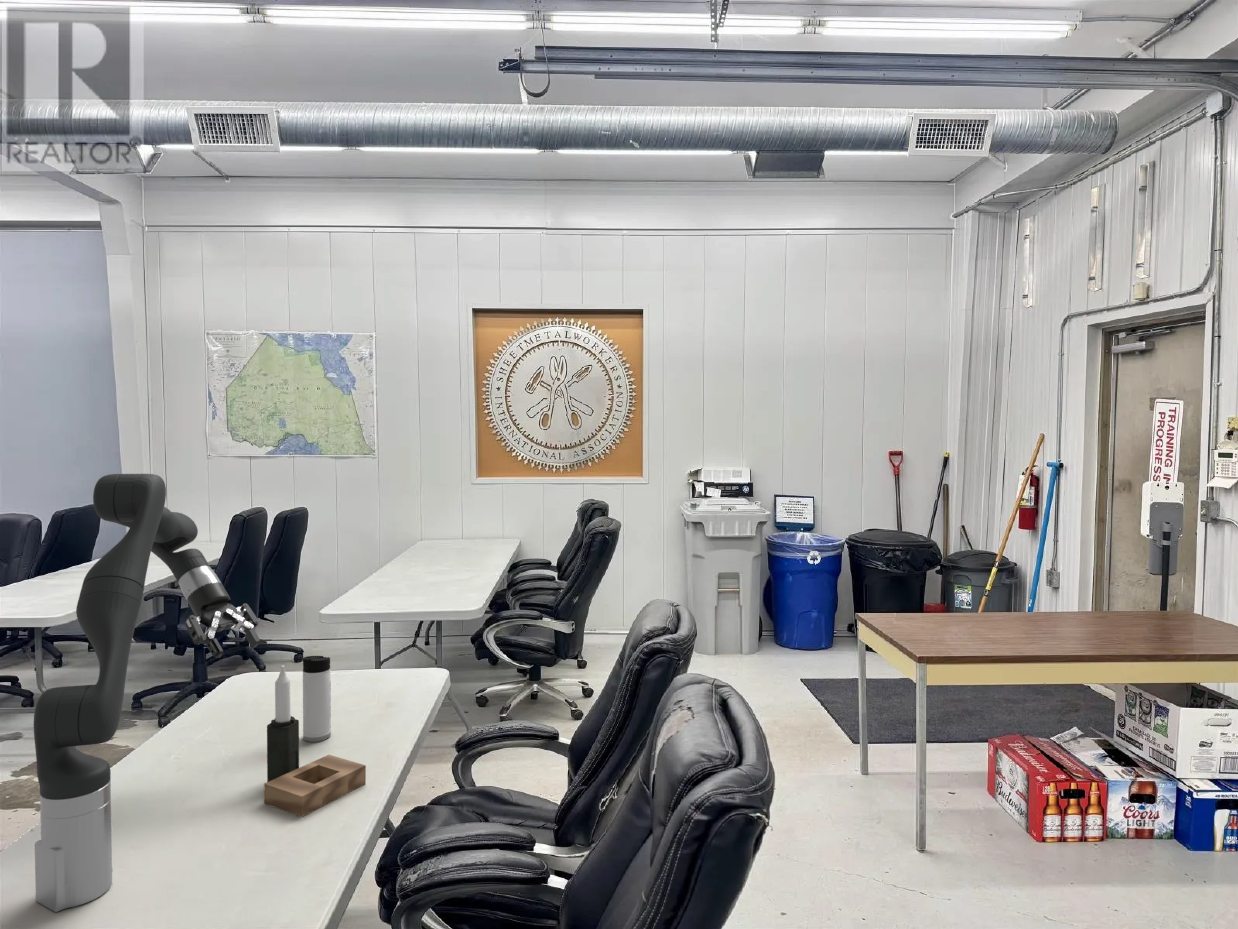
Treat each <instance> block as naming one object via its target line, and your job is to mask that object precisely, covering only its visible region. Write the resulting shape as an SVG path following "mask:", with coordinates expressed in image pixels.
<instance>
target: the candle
mask: <svg viewBox="0 0 1238 929" xmlns="http://www.w3.org/2000/svg"><path fill="white" fill-rule="evenodd" d="M285 668H286V666H285V665H284V664H283V665H281V666H280V671H279V674H278V677H277V679H276V680H275V682H274V690H275V691H274V697H275V699H274V701H275V703H274V704H275V705H274V706H275V708H274V711H275V713H274V716H275V718H274V719H271V720H270V723H268V724H267V725H266V758H267V759H266V762H267V763H266V764H267V765H266V766H267V767H266V770H267V772H266V775H267V776H266V778H267V781H266V783H267V782H269V781H271V780H273V779H276V778H278V777H280V776H282V775H285V774H287V773H289V772H291V771H293V770H296V769H298V768H300V721H299V719H296V718H295V717H294V716H291V714H292V713H291V680H290V678H289V677H288V676H287V673H286V669H285Z"/></svg>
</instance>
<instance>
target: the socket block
mask: <svg viewBox="0 0 1238 929" xmlns="http://www.w3.org/2000/svg"><path fill="white" fill-rule="evenodd" d="M366 771H367V770H366V765H365V764H363V763H359V762H356V761H352V760H349V759H345V758H343V757H339V756H334V755H332V754H327V755H324V756H322V757H320V758H318V759H315V760H314V761H311V762H309V763H307V764H305V765H302V766H299V768H298V769H296V770H293V771H291V772H289V773H287V774H285V775H282V776H280V777H278V778H276V779H273V780H271V781H269V782H267V781H266V782H265V783H263V789H264V790H263V793H264V794H263V802H264V803H263V804H264V805H265V804H266V805H267V804H268V805H267V806H270V807H273V808H276V809H279V810H282V811H284V812H287V811H288V812H287V813H290V814H293V815H295V814H296V816H297V817H298V816H299V817H301V818H302V817H303V818H304V817H305V816H306V815H307V816H308V815H309V814H311V813H312V811H313V812H314V811H317V810H318V809H321V808H322V807H324V806H325V804H326V805H328V804H330V803H332V802H333V801H336V800H337V799H339V798H342V797H343V796H346V795H347V794H349V793H351V792H353V791H355V790H357V789H359V788H361V787H363V786H365V785H366V783H367V782H366V779H367V778H366V776H367V775H366ZM316 809H317V810H316Z"/></svg>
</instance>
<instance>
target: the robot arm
mask: <svg viewBox="0 0 1238 929" xmlns="http://www.w3.org/2000/svg"><path fill="white" fill-rule="evenodd" d="M92 494H93V496H92V502H93V508H94V511H95V513H96V515H97V516H98V517H99V518H100V519H101V520H103V521H106V522H110V523H114V524H118V525H121V526H123V527H126V528H129V529H128V531H127V532H126V534H125V535H124V536H123V537H122V538H121V540H120V541H118V542H117V543H116V544H115V545H114V546H113V547H111V549H109V551H107V552H106V553H105V554H103V556H101V558H99V560H97V561H96V562H95V563H94V564H93V566H91V568H90V569H89V570H88V572H87V573H86V574H85V577H84V579H83V582H82V585H81V589H80V593H79V595H78V601H77V604H76V607H75V608H76V609H75V610H76V611H75V612H76V613H75V614H76V618H77V620H78V623H79V626H80V628H81V630H82V631H83V633H84V635H85V636H86V638H87V640H88V641H89V643H90V644H91V646H92V649H93V651H94V652H95V653H94V654H95V655H96V657H97V661H98V665H99V672H98V674H99V675H98V679H97V682H96V684H83V685H82V684H81V685H70V686H58V687H57V686H56V687H51V688H49V689H46V690H44V691H43V692H42V693H41V695H40V696H39V697H38V699H37V702H36V704H35V707H34V713H33V738H34V746H35V747H34V748H35V759H36V760H35V761H36V776H37V777H36V778H37V781H38V784H39V785H38V786H39V800H40V801H39V803H40V804H39V806H40V807H39V808H40V839H39V840H37V841H35V842H34V870H35V872H34V873H35V874H34V875H35V876H34V878H35V879H34V880H35V902H37V903H39V904H40V905H42V906H45V907H46V908H47V909H50V910H51V911H53V912H54V913H57V912H58V913H59V912H60V911H62V910H65V909H68V908H69V909H70V908H73V907H74V908H75V907H78V906H81V905H83V904H86V903H87V904H88V903H89V902H91V901H93V900H96V899H98V898H99V897H101V896H102V895H105V893H107V891H109V889H110V888H111V887H112V885H113V846H112V845H113V844H112V842H113V841H112V840H113V839H112V835H113V834H112V784H111V782H112V781H111V778H112V777H111V776H112V775H111V766H110V763H109V762H108V760H106V759H103V758H101V757H98V756H94V755H90V754H88V753H87V754H86V753H84V752H82V751H80V750H78V749H77V748H76V747H80V746H81V747H82V746H91V745H99V744H104V743H107V742H109V741H111V740H112V738H114V735H116V732H117V729H118V727H119V723H120V719H121V716H122V709H123V702H124V696H125V695H124V694H125V688H126V681H127V680H126V678H127V671H128V664H129V663H128V662H129V657H130V652H131V646H132V641H133V637H134V633H135V628H136V624H137V621H138V616H139V613H140V609H141V604H142V599H143V594H144V590H145V586H146V585H145V583H146V577H147V573H148V572H147V571H148V567H149V563H150V557H151V552H152V553H153V554H154V556H156V557H157V558H159V559H160V560H161V561H162V562H163V563H164V564H165V565H166V566H167V567H168V568H169V570H170V572H171V573H172V576H174V578H175V580H176V581H177V583H178V585H179V588H180V590H181V593H182V595H183V597H184V598H185V599H186V602H187V604H188V605H189V607H190V609H191V610H192V612H193V614H190V615H189V617H188V618H187V619H186V621H185V623H184V626H185V627H186V629H187V631H188V634H189V636H190V638H191V639H192V642H193V644H194V645H196V646H198V645H200V644H201V645H205V646H206V647H207V649H208V650H209V652H210V654H211V656H213V657H215V659H220V658H221V657H222V656H223V654H224V650H223V648H222V646H221V644H220V643H219V641H218V639H217V638H215V634H216V633H220V632H222V631H227V630H233V631H234V632H238V631H239V632H240V633H243V634H244V637H245V639H246V640H247V642H248V644H249V646H250V647H251V648H252V649H254V648H257V647H258V645H259V644H260V641H261V639H260V637H259V636H258V634H257V632H256V631H255V630H256V628H257V627H258V626H259V625H260V623H261V622H260V620H259V619H258V617H257V616H256V614H255V613H254V611H253V610H252V608H251V607H250V606H249V604H248V603H243V604H242V605H241V606H237V607H235V605H233V604H232V601H231V597H230V595H229V594H228V592H227V590H226V589H225V587H224V585H223V583H222V582H221V580H220V578H219V577H218V575H217V574H216V573H215V572H214V570H213V569H212V567H211V566H210V564H209V562H208V561H207V559H206V557H205V555H204V554H203V553H202V551H200V550H199V549H197V548H187V549H183V550H179V549H182V548H183V547H185V546H187V545H189V544H191V543H192V542H193V541H195V540H196V538H197V536H198V532H199V530H198V527H197V524H196V523H195V521H194V520H193V519H192V518H191V517H189V516H188V515H186V514H184V513H182V512H178V511H177V512H175V511H171V510H170V509H169V508H167V507H166V506H165V504H166V499H167V498H166V497H167V487H166V483H165V480H164V479H163V478H162V477H161V476H160V475H158V474H154V473H111V474H106V475H104V476H103V475H102V477H100V478H99V479H98V480H97V482H96V483H95V485H94V488H93V493H92ZM177 550H179V551H177ZM175 551H176V552H175ZM236 622H238V623H236ZM200 625H202V626H204V627H205V628H206V629H205V632H204V631H203V629H202V627H201V626H200Z"/></svg>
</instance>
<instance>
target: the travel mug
mask: <svg viewBox="0 0 1238 929" xmlns="http://www.w3.org/2000/svg"><path fill="white" fill-rule="evenodd" d="M331 683H332V681H331V657H329V656H328V657H326V656H324V655H309V656H308V655H307V656H304V657H302V738H303V739H302V740H304V741H305V742H308V743H318V741H319V742H323V741H325V739H326V740H327V738H328V739H329V738H330V737H331V735H332V730H331V729H332V724H331V722H332V720H331V719H332V718H331V717H332V715H331V713H332V712H331V711H332V710H331V709H332V708H331V707H332V705H331V701H332V700H331V698H332V697H331V692H332V691H331ZM322 740H323V741H322Z"/></svg>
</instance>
